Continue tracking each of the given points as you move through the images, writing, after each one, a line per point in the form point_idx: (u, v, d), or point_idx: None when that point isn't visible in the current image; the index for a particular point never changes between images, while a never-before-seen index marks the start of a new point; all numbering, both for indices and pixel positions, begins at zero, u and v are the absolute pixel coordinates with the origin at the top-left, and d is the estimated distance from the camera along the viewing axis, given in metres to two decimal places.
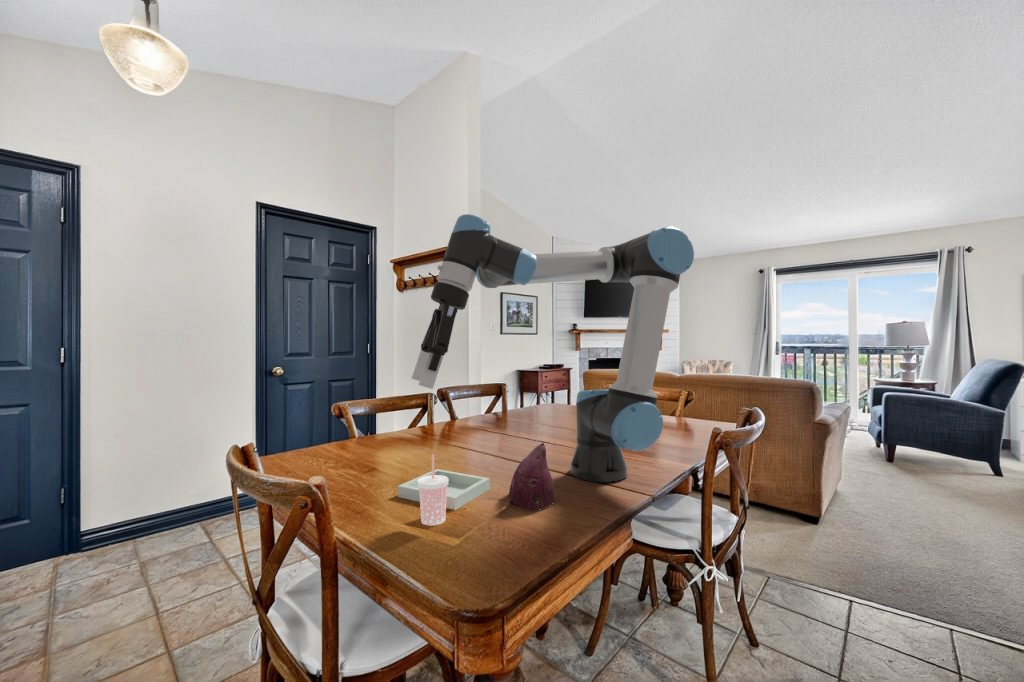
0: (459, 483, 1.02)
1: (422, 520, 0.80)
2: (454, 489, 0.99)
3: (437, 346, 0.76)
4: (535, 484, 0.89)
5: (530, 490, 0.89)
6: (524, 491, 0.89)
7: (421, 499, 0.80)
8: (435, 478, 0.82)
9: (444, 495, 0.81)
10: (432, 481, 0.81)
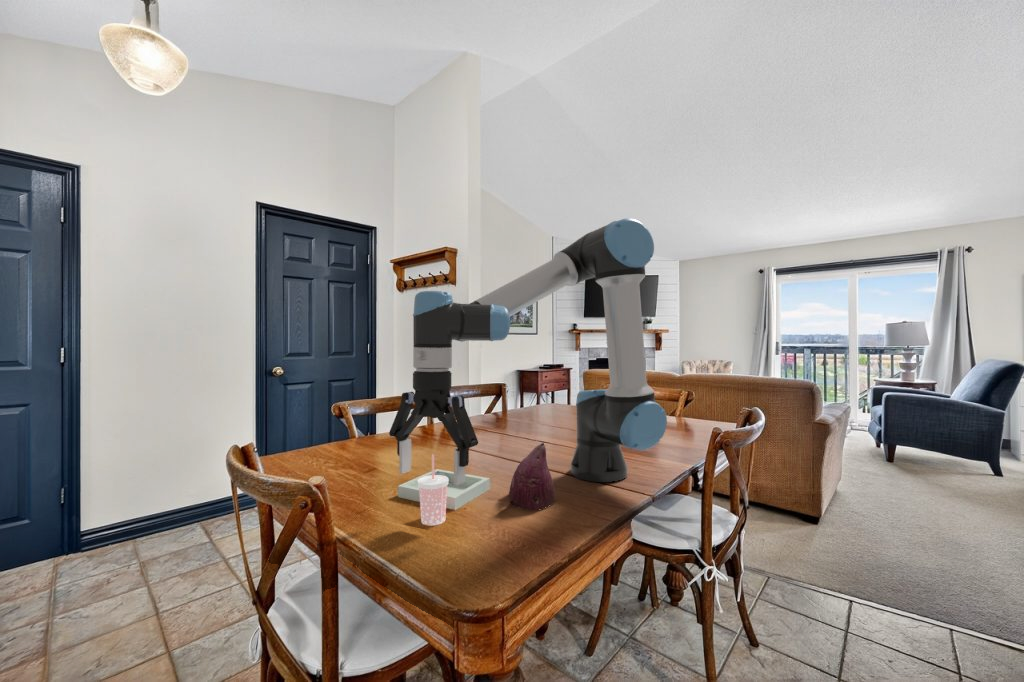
0: None
1: (422, 520, 0.80)
2: (454, 489, 0.99)
3: (472, 443, 0.76)
4: (534, 484, 0.89)
5: (530, 490, 0.89)
6: (524, 491, 0.89)
7: (421, 499, 0.80)
8: (435, 478, 0.82)
9: (444, 495, 0.81)
10: (432, 481, 0.81)
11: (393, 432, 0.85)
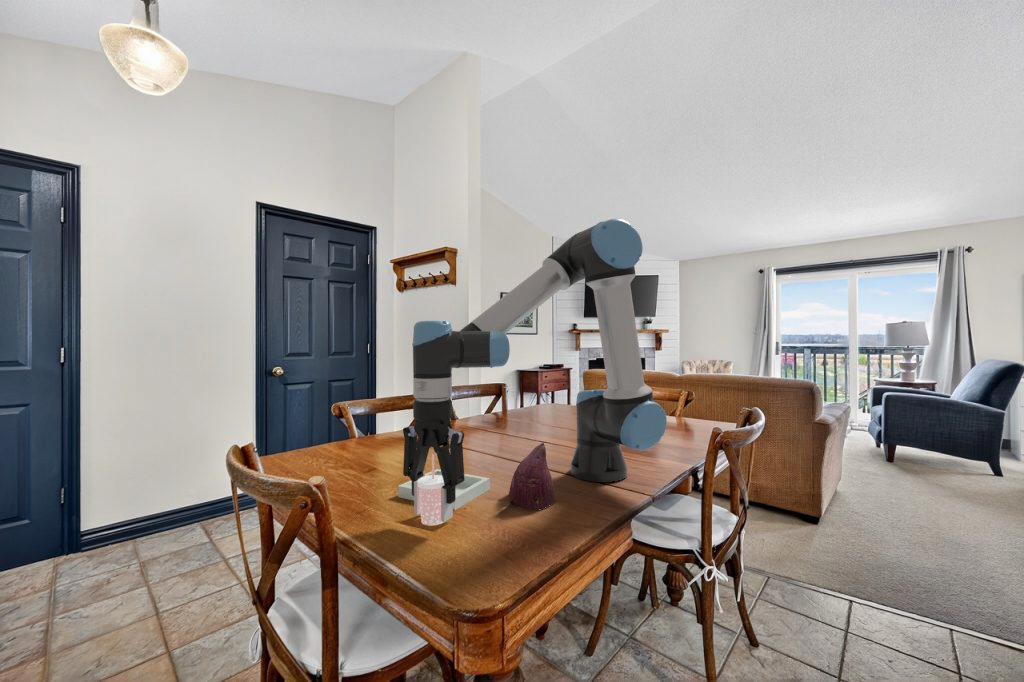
0: None
1: (422, 520, 0.80)
2: None
3: (458, 481, 0.78)
4: (534, 484, 0.89)
5: (530, 490, 0.89)
6: (524, 491, 0.89)
7: (421, 499, 0.80)
8: (435, 478, 0.82)
9: None
10: (432, 481, 0.81)
11: (407, 471, 0.83)
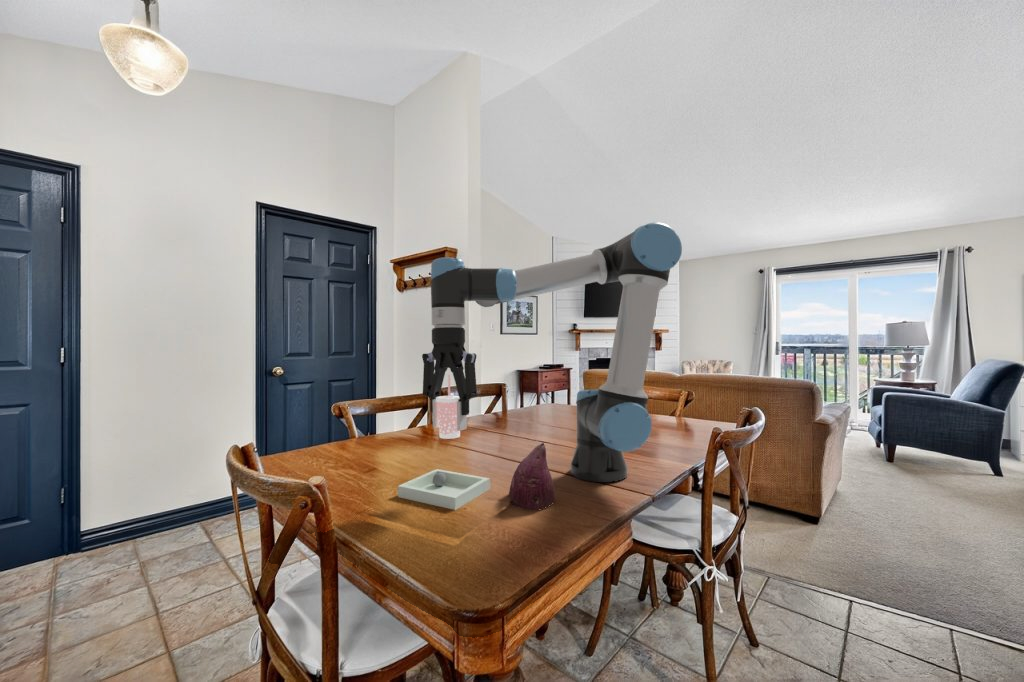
0: (459, 483, 1.02)
1: (440, 431, 0.93)
2: (454, 489, 0.99)
3: (472, 395, 0.91)
4: (535, 484, 0.89)
5: (530, 490, 0.89)
6: (524, 491, 0.89)
7: (439, 412, 0.93)
8: (451, 396, 0.94)
9: None
10: (449, 397, 0.93)
11: (426, 391, 0.96)
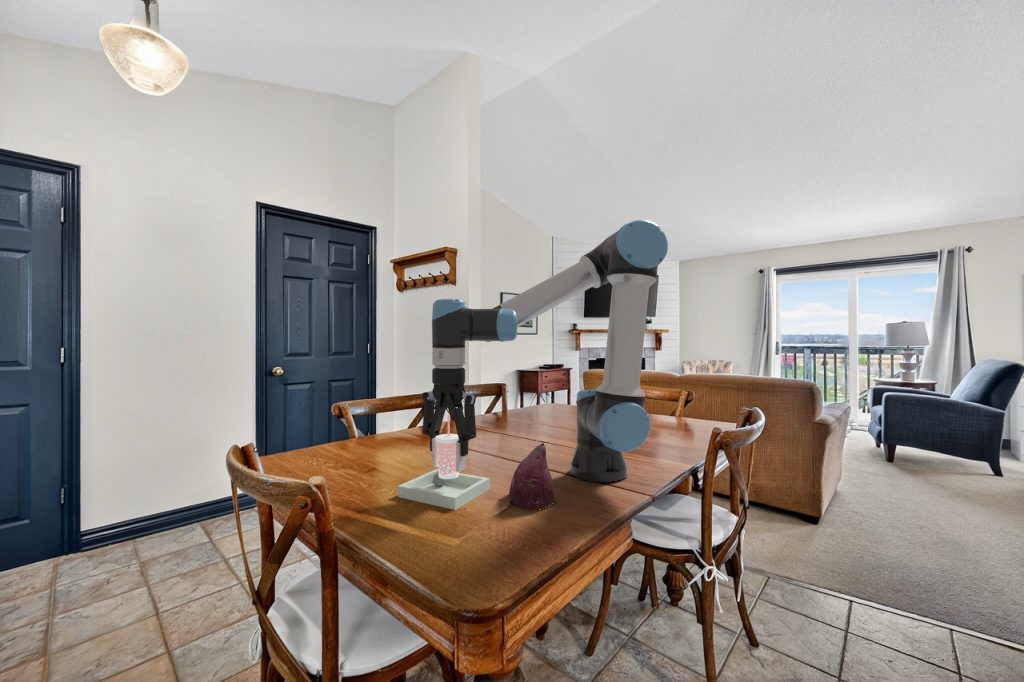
0: (459, 483, 1.02)
1: (439, 471, 0.93)
2: (454, 489, 0.99)
3: (471, 436, 0.91)
4: (535, 484, 0.89)
5: (530, 490, 0.89)
6: (524, 491, 0.89)
7: (438, 452, 0.93)
8: (450, 435, 0.95)
9: None
10: (448, 437, 0.94)
11: (425, 430, 0.96)
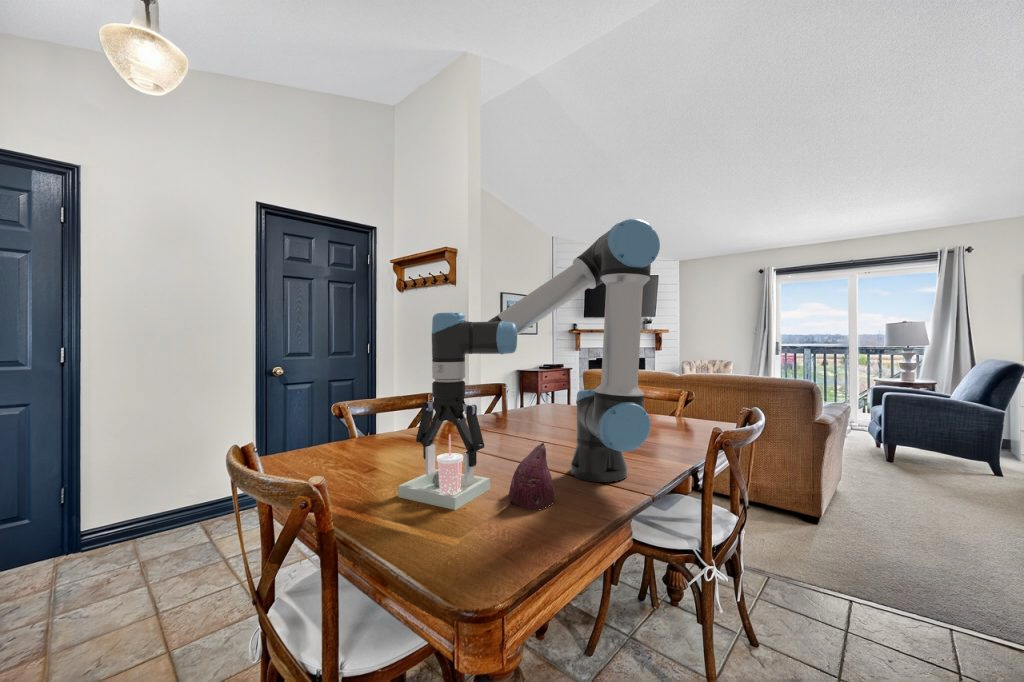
0: None
1: (441, 491, 0.93)
2: None
3: (479, 447, 0.90)
4: (535, 484, 0.89)
5: (530, 490, 0.89)
6: (524, 491, 0.89)
7: (440, 473, 0.93)
8: (451, 455, 0.95)
9: (459, 469, 0.94)
10: (449, 457, 0.94)
11: (419, 438, 0.97)
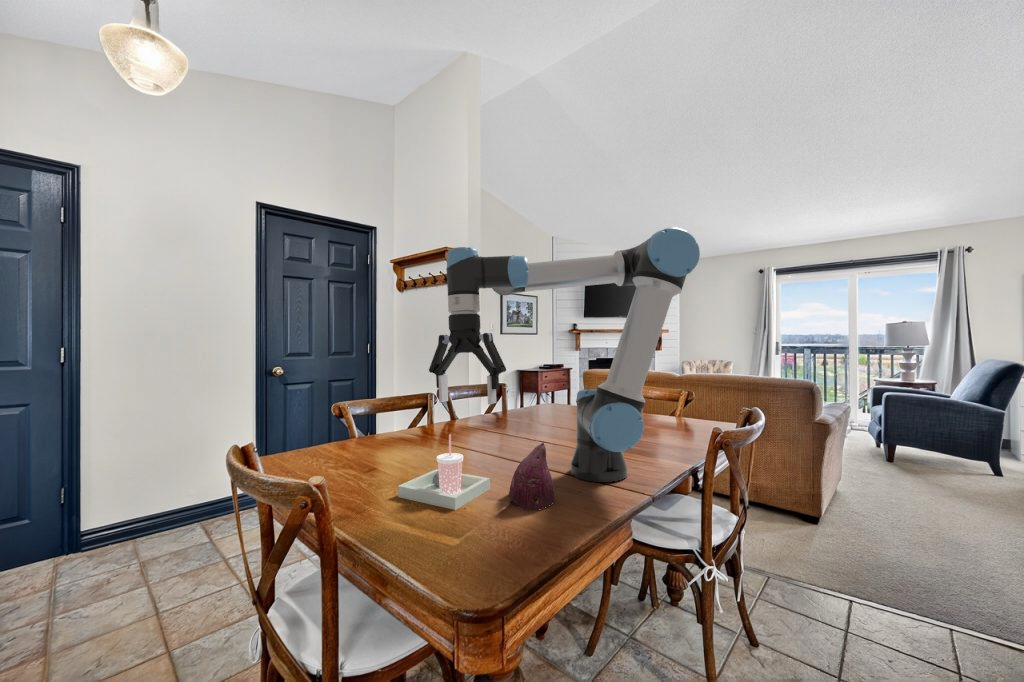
0: None
1: (441, 491, 0.93)
2: None
3: (502, 369, 0.94)
4: (535, 484, 0.89)
5: (530, 490, 0.89)
6: (524, 491, 0.89)
7: (440, 473, 0.93)
8: (452, 455, 0.95)
9: (460, 469, 0.94)
10: (449, 457, 0.94)
11: (432, 369, 1.02)
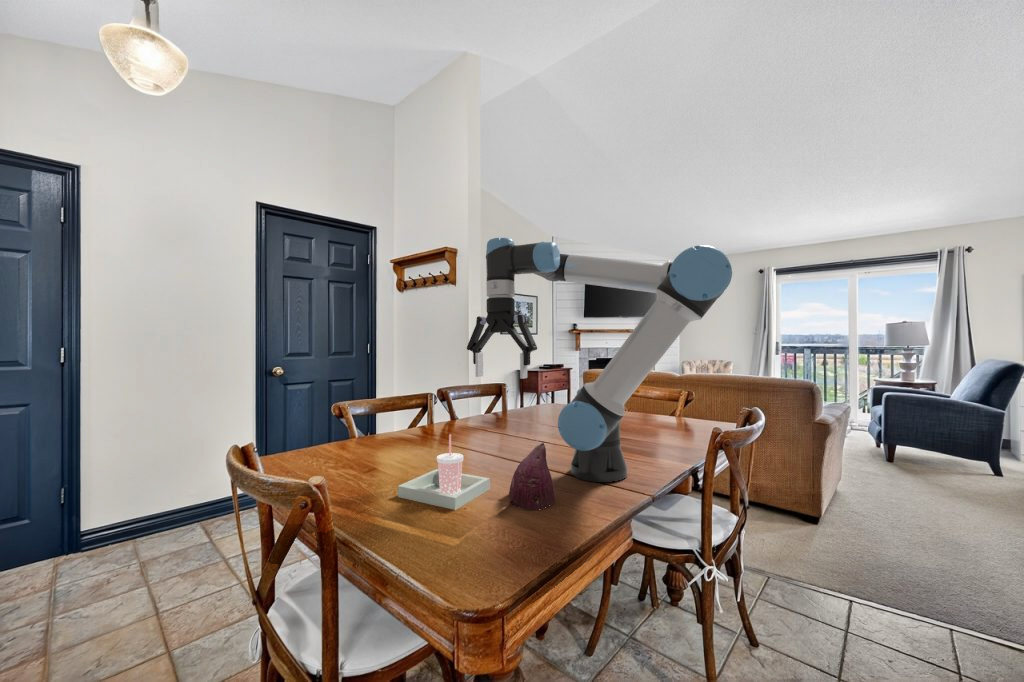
0: None
1: (441, 491, 0.93)
2: None
3: (533, 347, 1.05)
4: (534, 484, 0.89)
5: (530, 490, 0.89)
6: (524, 491, 0.89)
7: (440, 472, 0.93)
8: (452, 455, 0.95)
9: (460, 469, 0.94)
10: (449, 457, 0.94)
11: (470, 347, 1.13)
